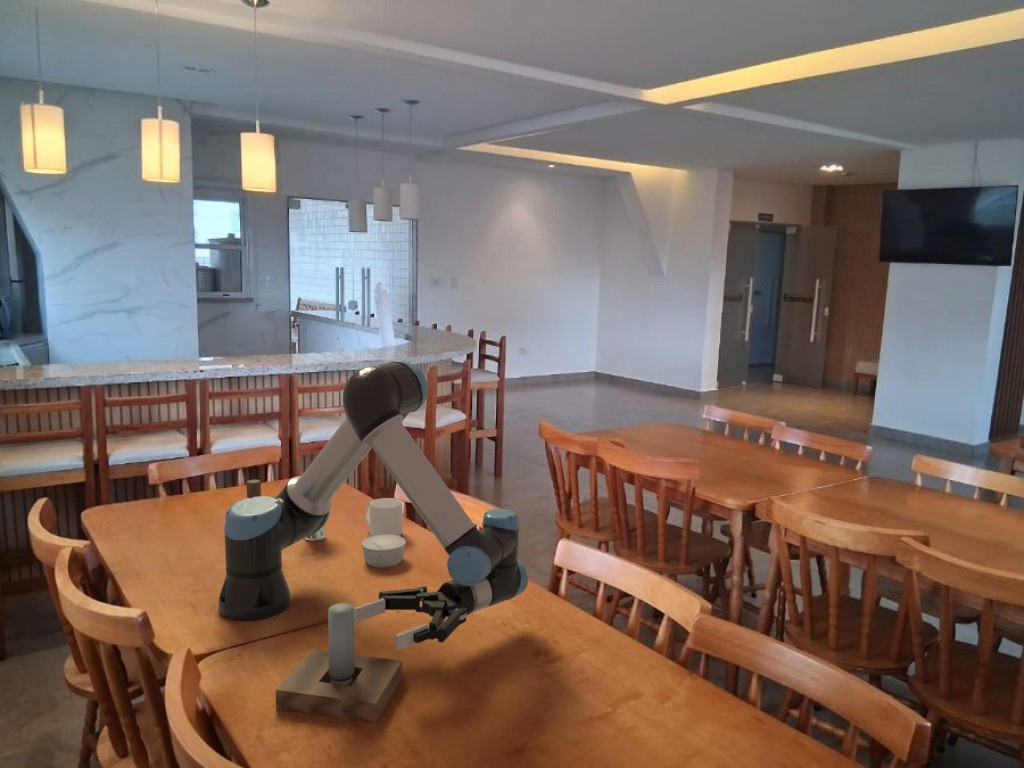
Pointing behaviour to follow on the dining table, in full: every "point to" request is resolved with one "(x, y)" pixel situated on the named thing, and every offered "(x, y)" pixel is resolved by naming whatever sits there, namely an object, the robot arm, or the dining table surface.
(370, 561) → the ramekin
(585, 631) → the dining table surface
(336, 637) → the grey rounded cylinder
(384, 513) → the mug
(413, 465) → the robot arm
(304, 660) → the board
